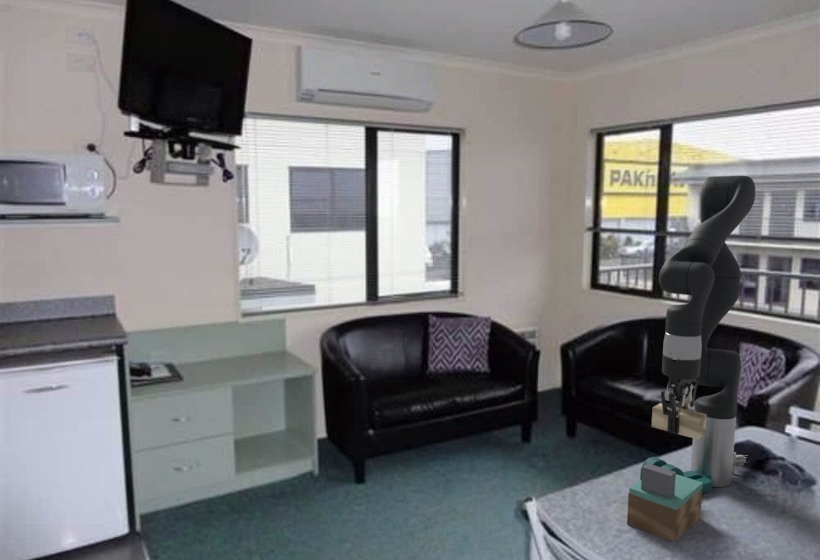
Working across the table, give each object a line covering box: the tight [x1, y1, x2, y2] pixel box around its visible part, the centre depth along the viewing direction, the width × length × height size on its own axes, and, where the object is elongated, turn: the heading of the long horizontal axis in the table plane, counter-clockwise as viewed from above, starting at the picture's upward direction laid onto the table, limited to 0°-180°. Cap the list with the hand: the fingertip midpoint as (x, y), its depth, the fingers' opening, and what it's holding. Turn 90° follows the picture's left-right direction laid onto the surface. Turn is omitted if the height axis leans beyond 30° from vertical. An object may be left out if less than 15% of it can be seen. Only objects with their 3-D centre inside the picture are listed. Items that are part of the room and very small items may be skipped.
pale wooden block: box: [651, 402, 707, 439], centre depth 131 cm, size 4×10×4 cm, turn 44°
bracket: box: [639, 456, 713, 494], centre depth 144 cm, size 18×7×8 cm, turn 112°
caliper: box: [732, 451, 747, 476], centre depth 158 cm, size 20×1×6 cm, turn 125°
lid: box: [628, 463, 703, 510], centre depth 129 cm, size 14×10×7 cm
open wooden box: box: [626, 489, 703, 543], centre depth 130 cm, size 14×10×7 cm
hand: (677, 429), depth 131 cm, fingers closed on pale wooden block, 4 cm apart
